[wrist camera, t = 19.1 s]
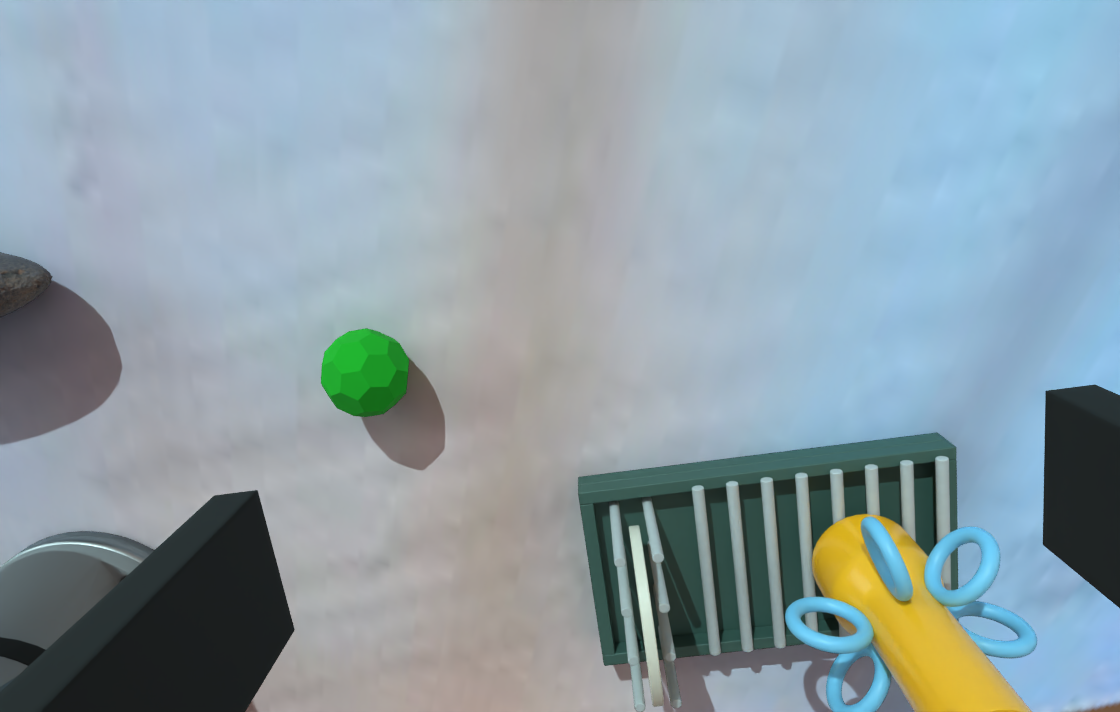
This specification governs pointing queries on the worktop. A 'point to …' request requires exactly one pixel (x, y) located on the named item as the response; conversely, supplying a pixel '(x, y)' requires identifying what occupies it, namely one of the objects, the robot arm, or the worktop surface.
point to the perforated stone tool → (20, 282)
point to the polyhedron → (365, 372)
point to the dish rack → (744, 544)
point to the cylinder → (909, 619)
